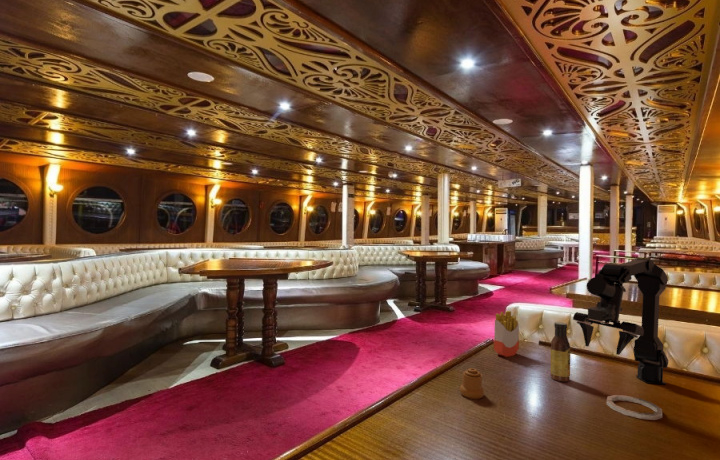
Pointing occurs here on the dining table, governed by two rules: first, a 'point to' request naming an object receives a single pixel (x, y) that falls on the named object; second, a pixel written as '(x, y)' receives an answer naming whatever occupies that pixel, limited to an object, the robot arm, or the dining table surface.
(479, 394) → the ornamental finial
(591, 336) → the robot arm
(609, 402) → the white faceted ring
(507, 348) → the french fries container
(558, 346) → the sauce bottle
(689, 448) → the dining table surface
